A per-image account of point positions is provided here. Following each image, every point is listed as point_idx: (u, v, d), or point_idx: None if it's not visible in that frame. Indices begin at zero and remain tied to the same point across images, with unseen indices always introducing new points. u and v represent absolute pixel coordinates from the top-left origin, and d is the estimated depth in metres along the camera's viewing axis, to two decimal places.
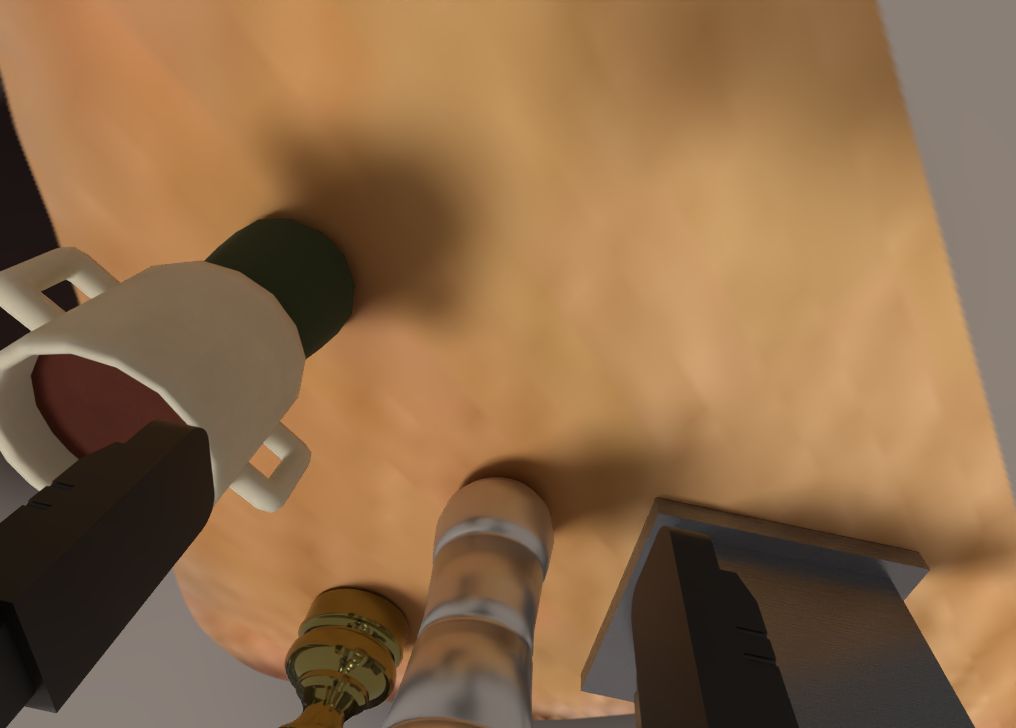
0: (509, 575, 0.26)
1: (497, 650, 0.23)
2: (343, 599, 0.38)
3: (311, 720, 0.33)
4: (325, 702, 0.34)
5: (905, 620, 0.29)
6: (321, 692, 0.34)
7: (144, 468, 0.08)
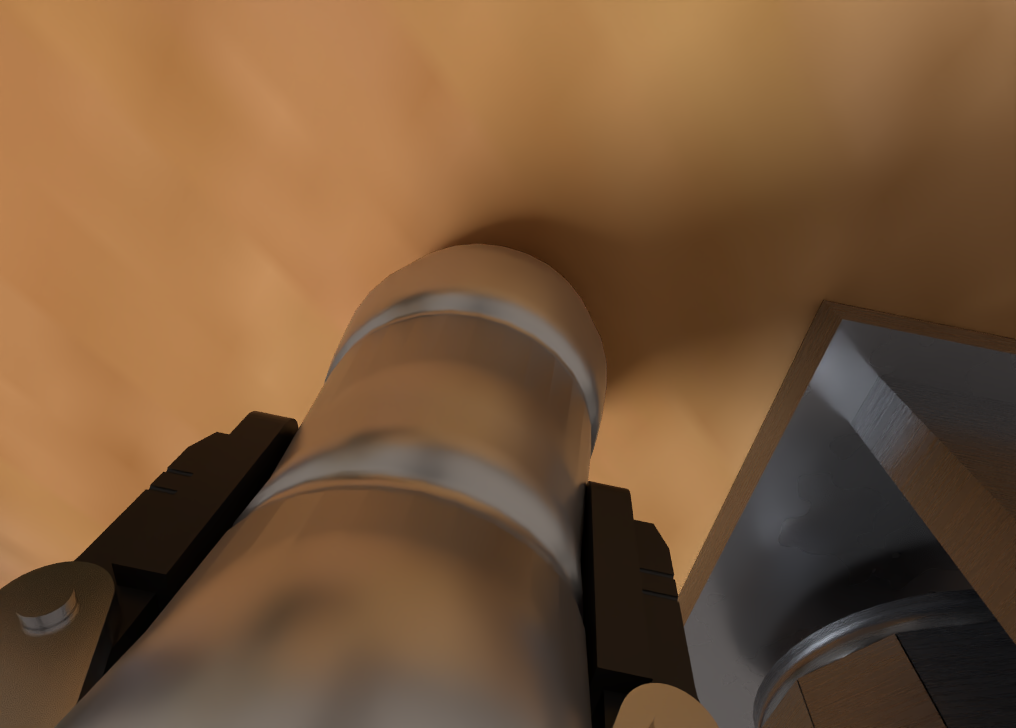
0: (507, 393, 0.09)
1: (461, 585, 0.06)
2: None
3: None
4: None
5: None
6: None
7: (253, 456, 0.09)
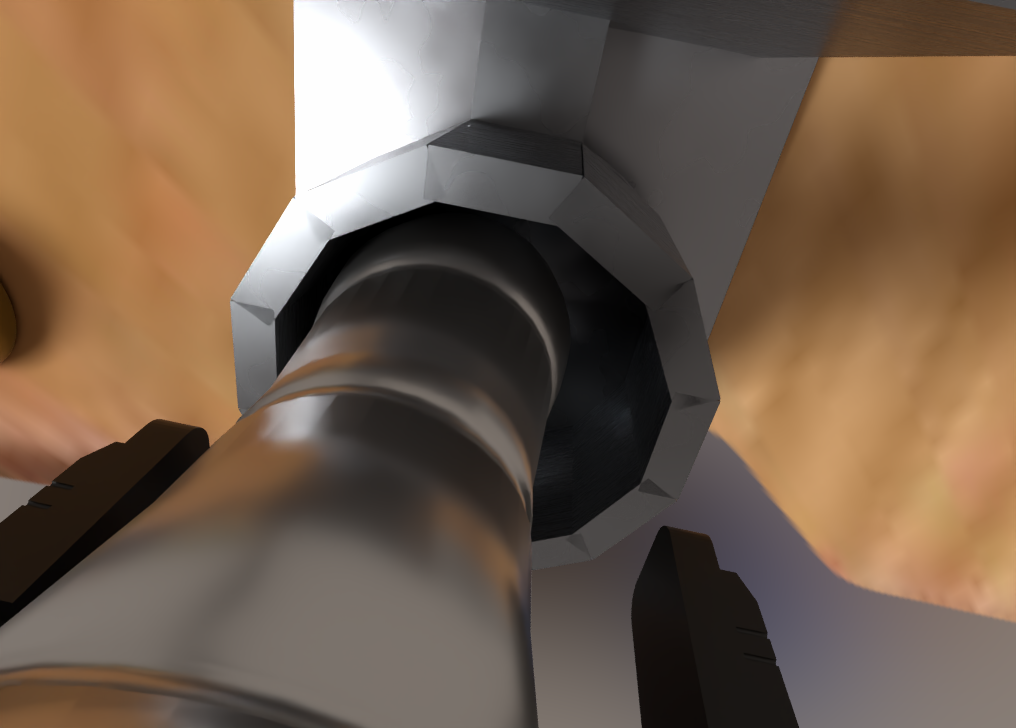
0: (465, 330, 0.10)
1: (411, 461, 0.07)
2: None
3: None
4: None
5: None
6: None
7: (144, 468, 0.08)
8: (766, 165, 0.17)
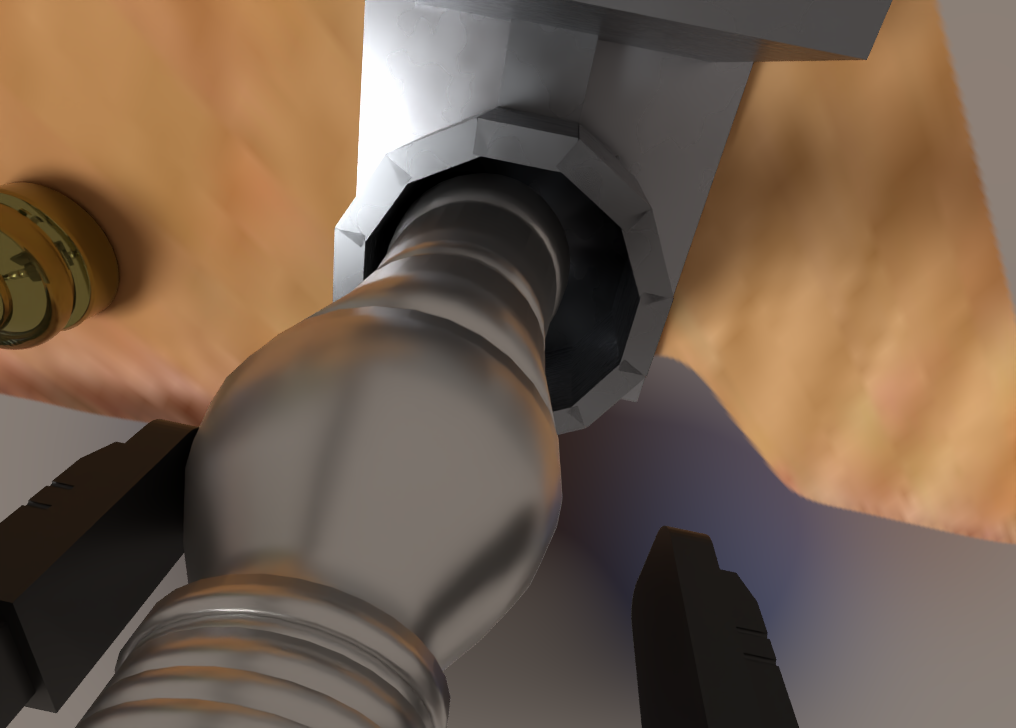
0: (501, 235, 0.15)
1: (480, 279, 0.12)
2: (2, 185, 0.27)
3: None
4: None
5: None
6: None
7: (144, 468, 0.08)
8: (718, 143, 0.23)
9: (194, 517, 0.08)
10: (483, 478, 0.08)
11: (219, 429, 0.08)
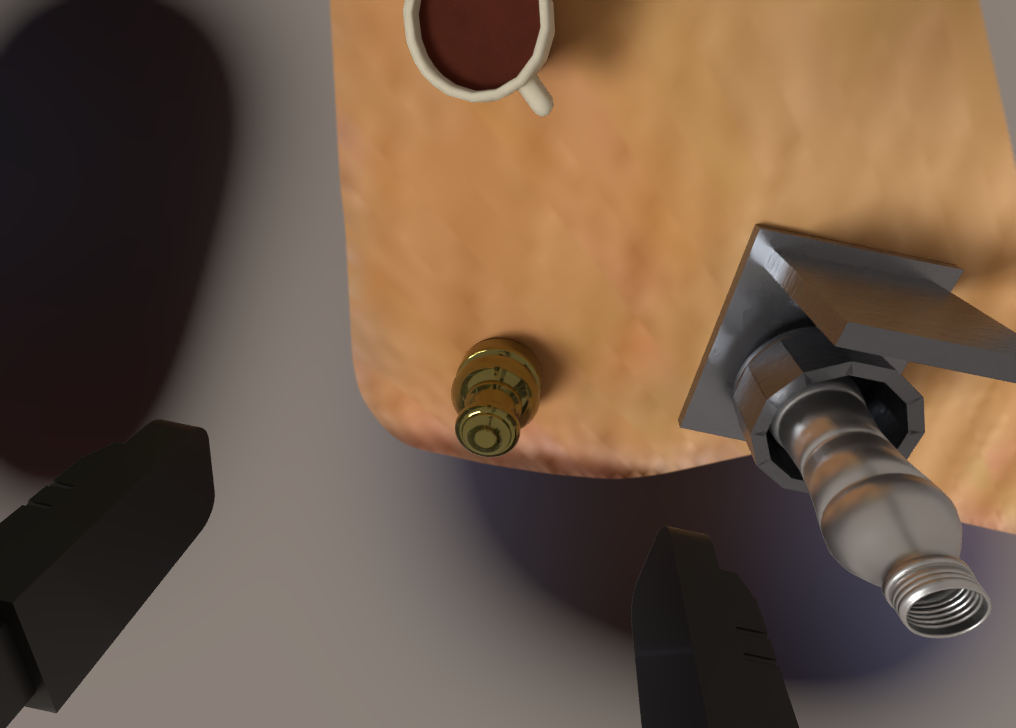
0: (865, 414, 0.36)
1: (892, 448, 0.33)
2: (495, 342, 0.48)
3: None
4: (494, 400, 0.44)
5: (948, 293, 0.39)
6: (490, 394, 0.44)
7: (144, 468, 0.08)
8: None
9: (880, 539, 0.28)
10: (956, 529, 0.28)
11: (879, 515, 0.29)
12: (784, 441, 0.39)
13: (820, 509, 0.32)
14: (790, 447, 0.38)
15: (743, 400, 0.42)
